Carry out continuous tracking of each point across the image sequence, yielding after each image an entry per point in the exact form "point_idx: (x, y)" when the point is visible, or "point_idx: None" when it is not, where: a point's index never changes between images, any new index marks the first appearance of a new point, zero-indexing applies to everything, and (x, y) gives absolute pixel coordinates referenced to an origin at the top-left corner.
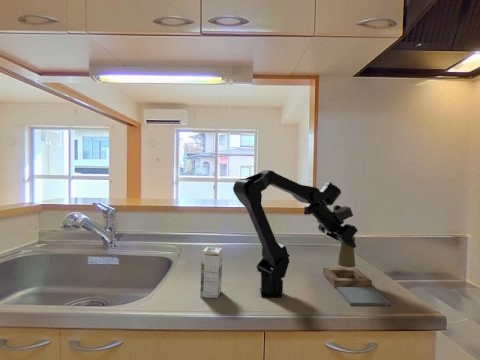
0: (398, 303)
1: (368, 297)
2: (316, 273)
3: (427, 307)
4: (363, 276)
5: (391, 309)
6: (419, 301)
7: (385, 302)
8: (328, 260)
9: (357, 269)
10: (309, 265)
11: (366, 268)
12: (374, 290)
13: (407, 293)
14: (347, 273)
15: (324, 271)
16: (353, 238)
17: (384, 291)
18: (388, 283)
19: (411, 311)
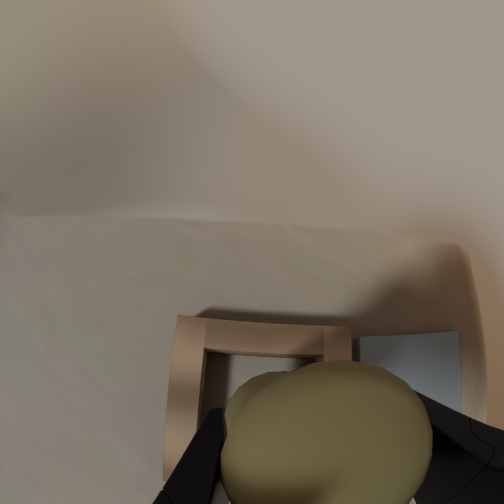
0: (439, 302)
1: (436, 383)
2: (157, 490)
3: (442, 244)
4: (298, 340)
5: (468, 339)
6: (417, 239)
7: (458, 343)
8: (17, 339)
9: (195, 320)
10: (59, 457)
11: (121, 239)
12: (387, 341)
13: (372, 236)
14: (202, 377)
15: None
16: (420, 401)
17: (367, 300)
18: (290, 245)
19: (467, 294)
